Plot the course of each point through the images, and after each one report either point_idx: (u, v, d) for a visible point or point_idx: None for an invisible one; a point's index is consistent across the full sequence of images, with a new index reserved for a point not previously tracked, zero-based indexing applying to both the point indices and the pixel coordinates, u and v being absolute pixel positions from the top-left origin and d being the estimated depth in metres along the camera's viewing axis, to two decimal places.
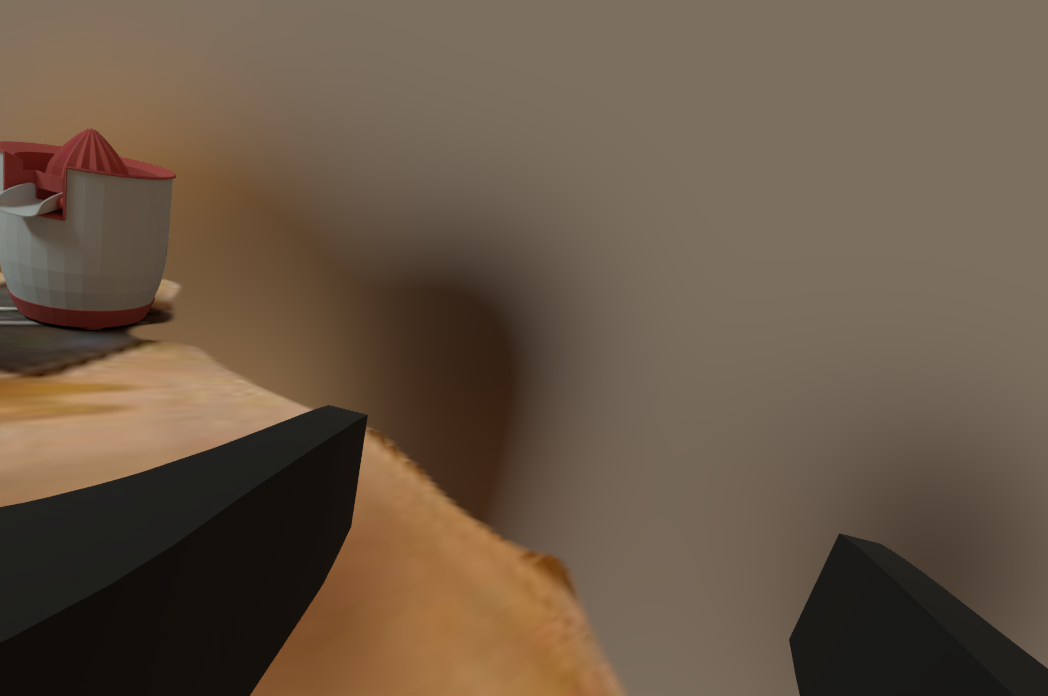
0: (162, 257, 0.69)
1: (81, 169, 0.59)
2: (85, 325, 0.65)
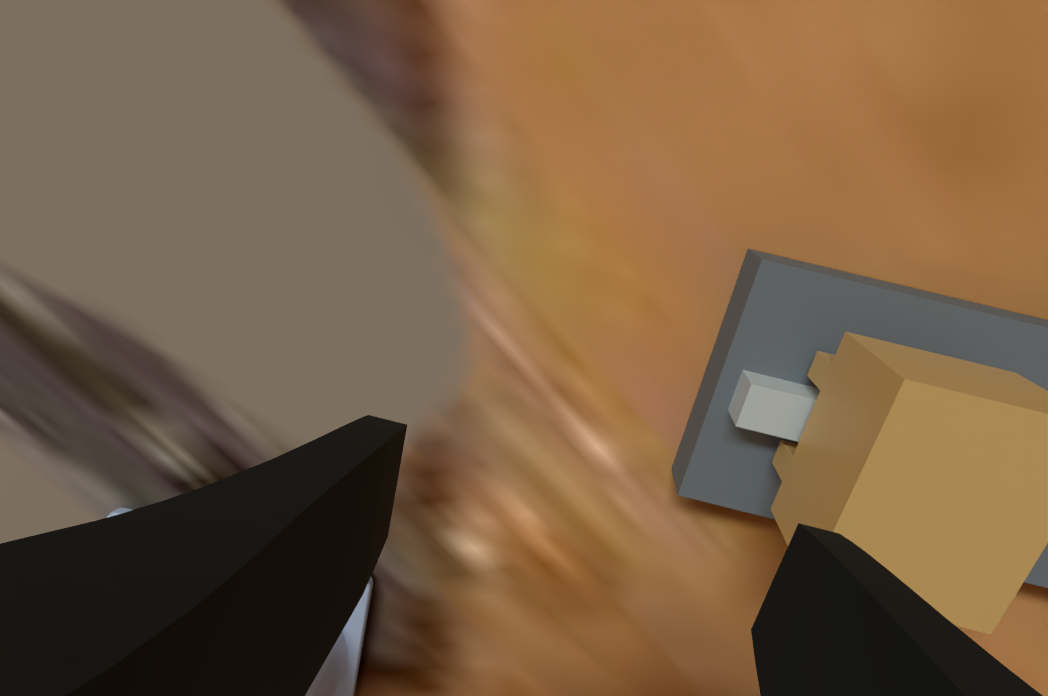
0: None
1: None
2: None
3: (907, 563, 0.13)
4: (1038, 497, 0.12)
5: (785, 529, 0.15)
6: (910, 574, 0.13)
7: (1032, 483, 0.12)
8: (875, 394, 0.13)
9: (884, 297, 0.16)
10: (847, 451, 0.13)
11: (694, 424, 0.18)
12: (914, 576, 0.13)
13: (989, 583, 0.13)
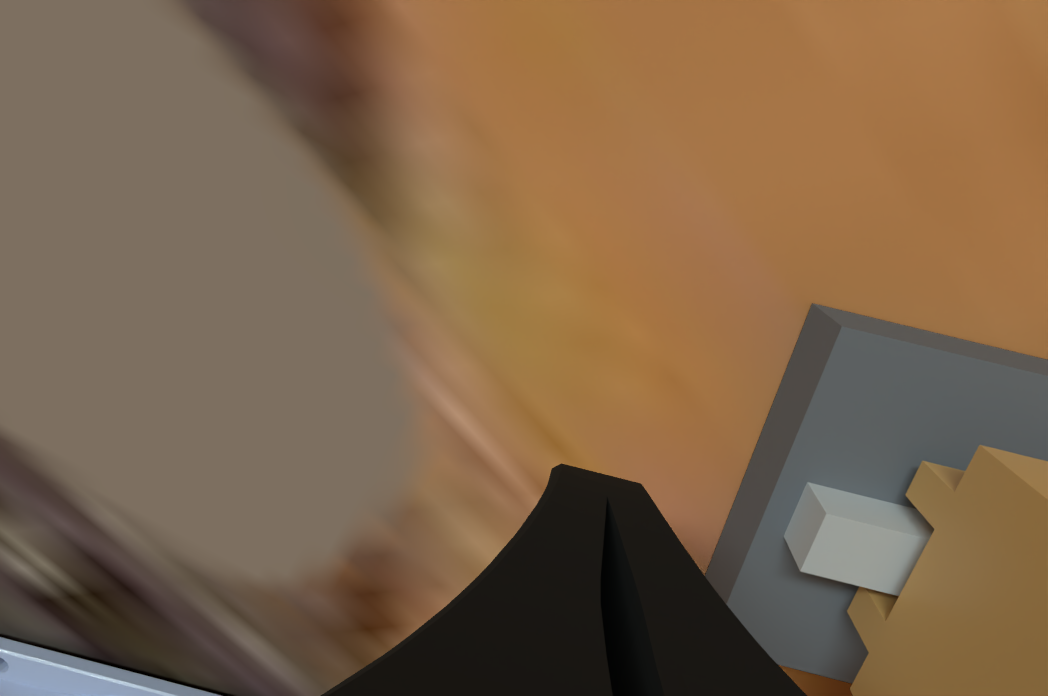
0: None
1: None
2: None
3: None
4: None
5: None
6: None
7: None
8: None
9: (1026, 384, 0.10)
10: (1006, 661, 0.08)
11: (731, 546, 0.13)
12: None
13: None
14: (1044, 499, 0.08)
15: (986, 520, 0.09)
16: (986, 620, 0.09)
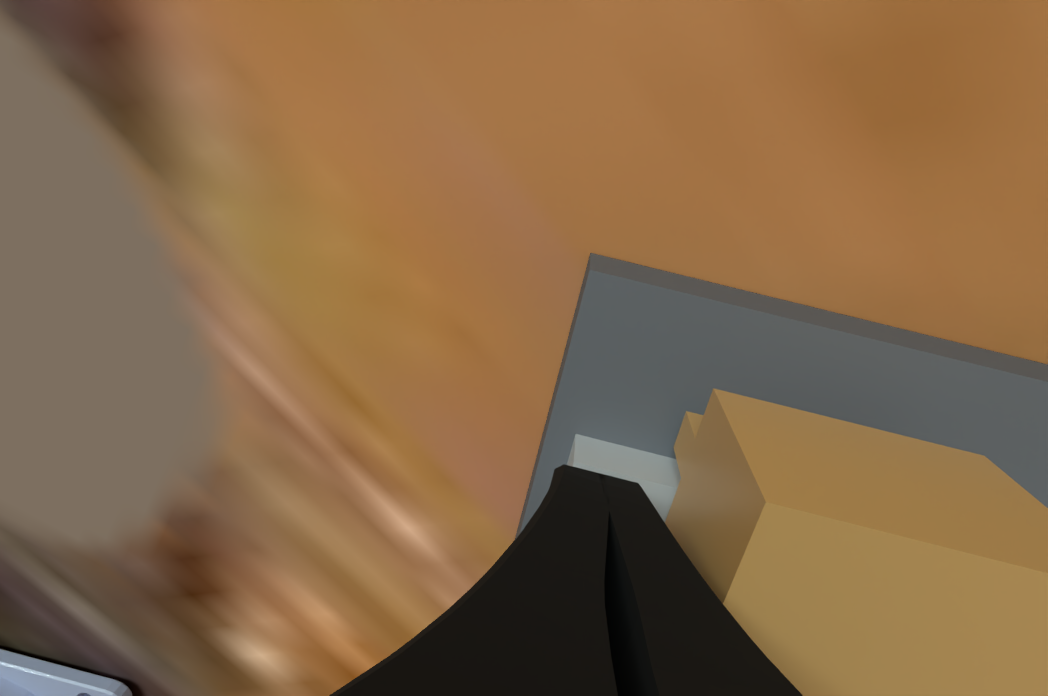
0: None
1: None
2: None
3: None
4: None
5: None
6: None
7: (1005, 683, 0.07)
8: (731, 514, 0.07)
9: (778, 329, 0.10)
10: None
11: (525, 505, 0.13)
12: None
13: None
14: (734, 435, 0.08)
15: (705, 463, 0.09)
16: None
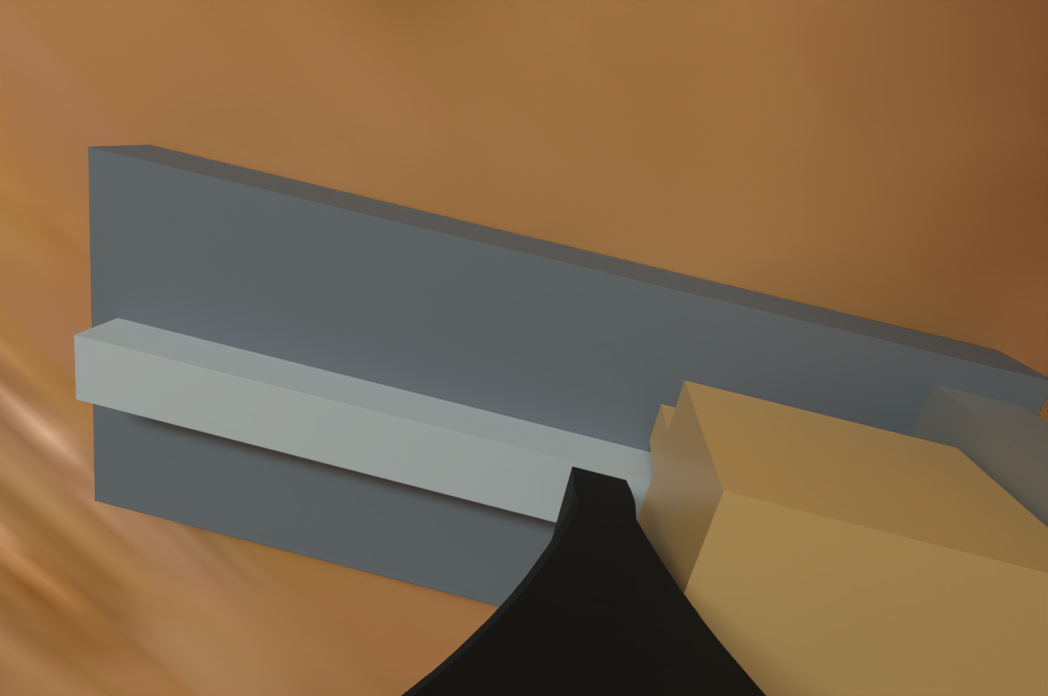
0: None
1: None
2: None
3: None
4: None
5: None
6: None
7: (966, 675, 0.07)
8: (693, 504, 0.07)
9: (272, 204, 0.10)
10: None
11: None
12: None
13: None
14: (700, 426, 0.08)
15: (674, 455, 0.09)
16: None
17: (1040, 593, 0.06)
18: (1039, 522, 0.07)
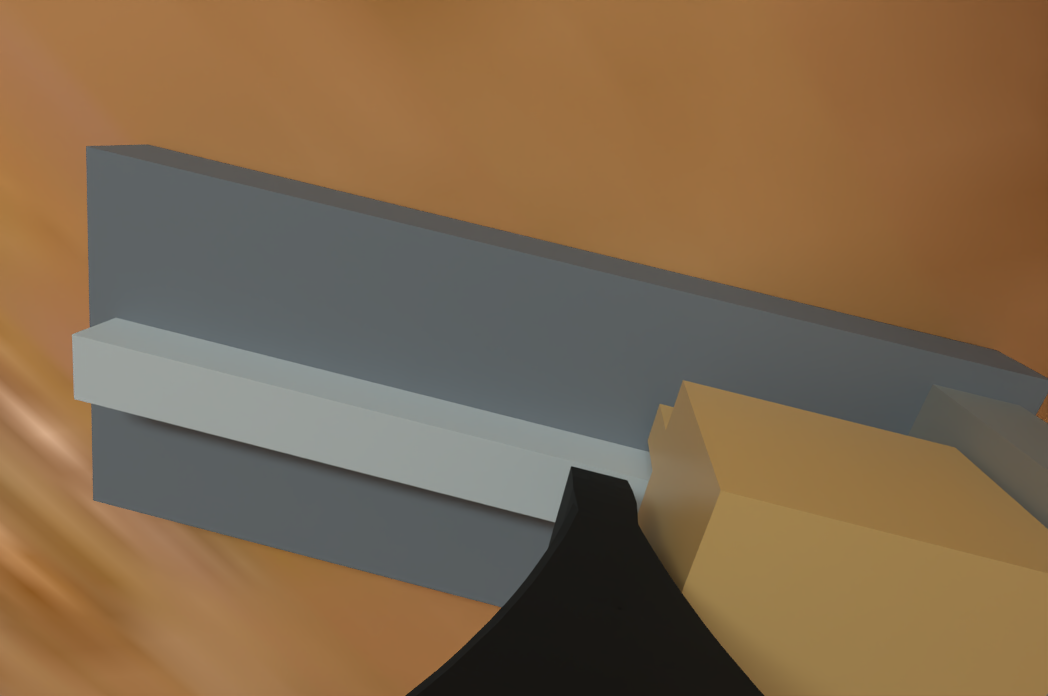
0: None
1: None
2: None
3: None
4: None
5: None
6: None
7: (965, 674, 0.07)
8: (691, 503, 0.07)
9: (269, 204, 0.10)
10: None
11: None
12: None
13: None
14: (698, 425, 0.08)
15: (672, 454, 0.09)
16: None
17: (1039, 594, 0.06)
18: (1037, 522, 0.07)
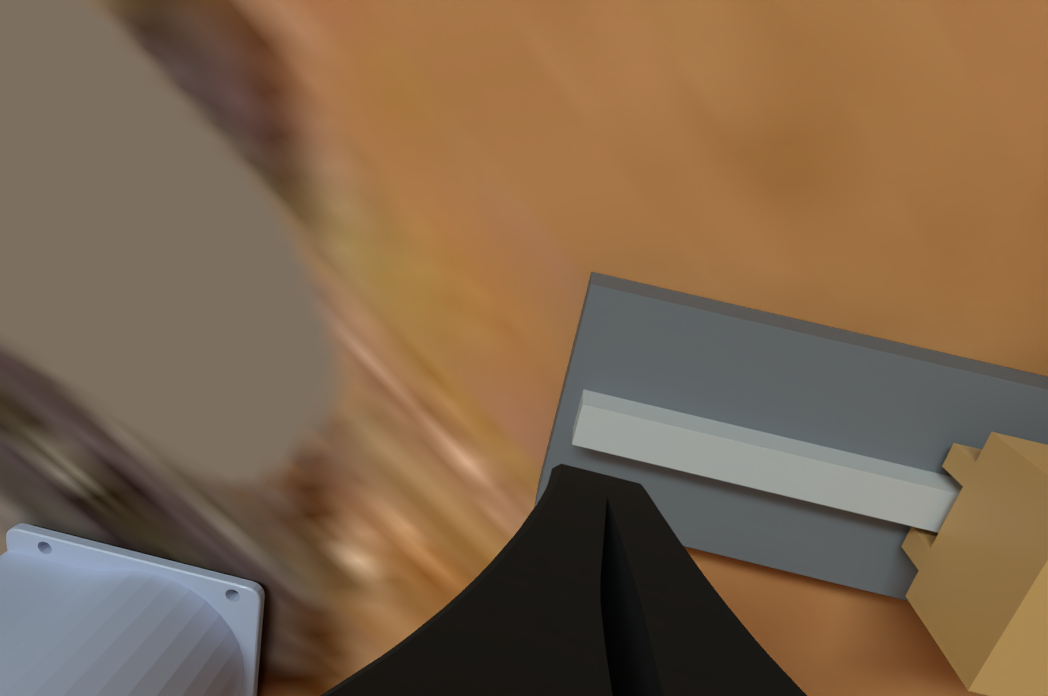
0: None
1: None
2: None
3: None
4: None
5: (929, 622, 0.16)
6: None
7: None
8: (1042, 508, 0.13)
9: (709, 320, 0.16)
10: (1008, 558, 0.14)
11: (550, 441, 0.19)
12: None
13: None
14: (1030, 463, 0.14)
15: (996, 478, 0.14)
16: (996, 537, 0.14)
17: None
18: None
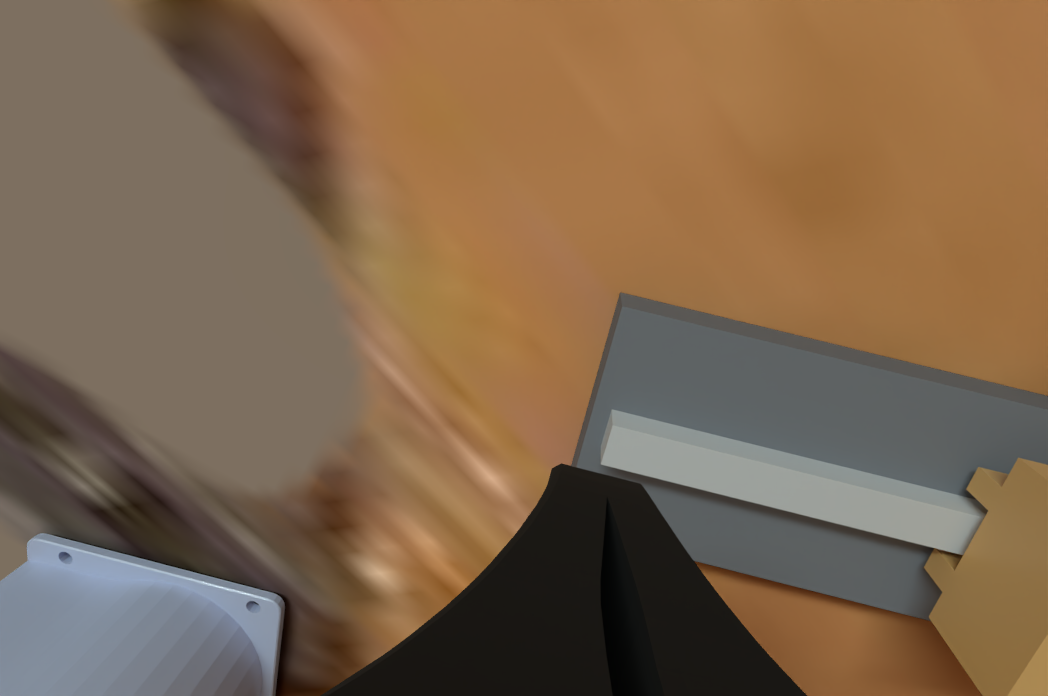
0: None
1: None
2: None
3: None
4: None
5: (953, 644, 0.16)
6: None
7: None
8: None
9: (738, 343, 0.16)
10: (1036, 585, 0.14)
11: (575, 458, 0.19)
12: None
13: None
14: None
15: (1023, 504, 0.15)
16: (1024, 563, 0.14)
17: None
18: None
